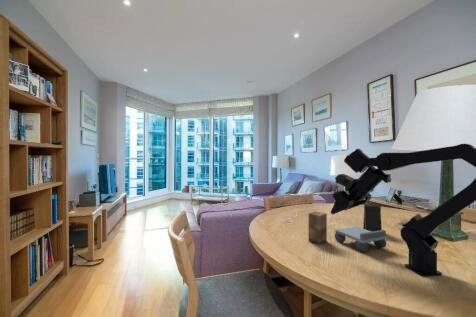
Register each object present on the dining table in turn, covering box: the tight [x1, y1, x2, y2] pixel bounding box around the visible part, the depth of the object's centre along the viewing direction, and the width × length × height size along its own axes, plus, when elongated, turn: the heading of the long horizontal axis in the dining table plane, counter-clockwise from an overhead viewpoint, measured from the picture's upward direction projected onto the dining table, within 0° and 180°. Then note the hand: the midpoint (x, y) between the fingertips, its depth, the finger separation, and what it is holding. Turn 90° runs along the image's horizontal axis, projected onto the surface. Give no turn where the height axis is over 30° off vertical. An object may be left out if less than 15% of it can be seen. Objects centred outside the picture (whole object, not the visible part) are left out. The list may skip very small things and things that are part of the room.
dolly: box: [334, 226, 387, 253], centre depth 93 cm, size 14×11×6 cm
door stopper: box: [362, 204, 383, 232], centre depth 107 cm, size 9×6×12 cm, turn 160°
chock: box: [308, 211, 328, 246], centre depth 97 cm, size 5×5×11 cm
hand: (337, 211), depth 92 cm, fingers open, 9 cm apart
